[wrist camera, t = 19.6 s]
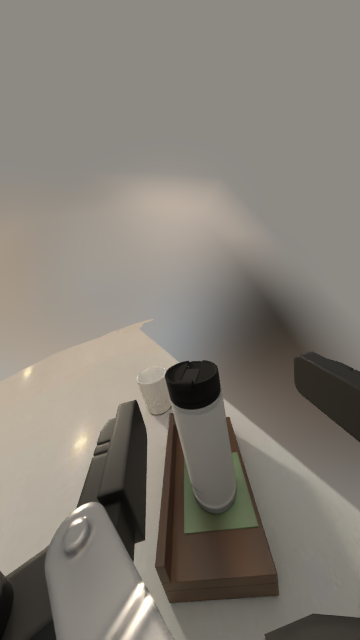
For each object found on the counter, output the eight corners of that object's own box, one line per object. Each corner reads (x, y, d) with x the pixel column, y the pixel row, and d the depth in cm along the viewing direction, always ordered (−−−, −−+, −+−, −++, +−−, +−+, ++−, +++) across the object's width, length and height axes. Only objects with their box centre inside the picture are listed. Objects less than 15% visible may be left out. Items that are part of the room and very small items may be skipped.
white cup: (172, 392, 54) (165, 363, 52) (175, 412, 47) (166, 379, 44) (146, 399, 54) (138, 370, 51) (144, 420, 46) (134, 387, 44)
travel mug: (188, 512, 24) (153, 385, 19) (197, 461, 30) (172, 353, 25) (237, 524, 22) (214, 385, 17) (236, 466, 28) (219, 351, 23)
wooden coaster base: (231, 431, 39) (227, 405, 37) (279, 595, 19) (275, 557, 17) (176, 439, 39) (169, 413, 37) (169, 603, 20) (154, 567, 18)
